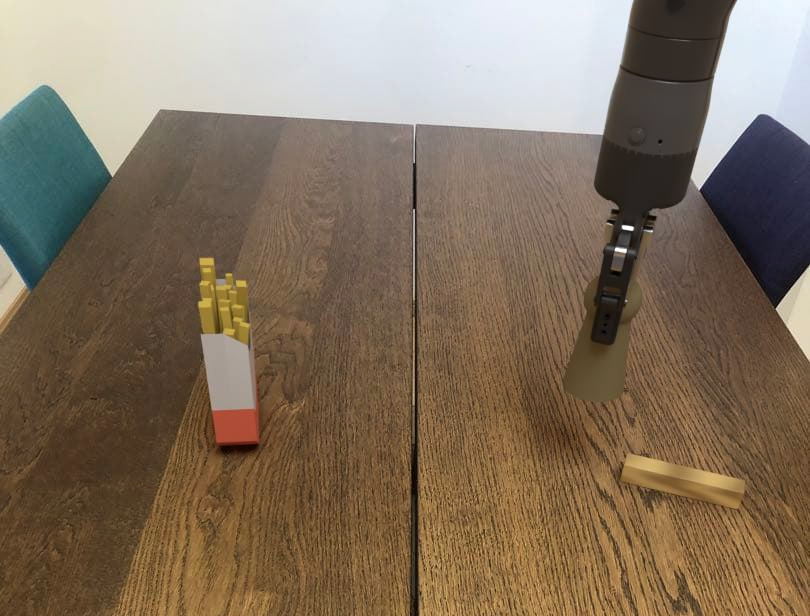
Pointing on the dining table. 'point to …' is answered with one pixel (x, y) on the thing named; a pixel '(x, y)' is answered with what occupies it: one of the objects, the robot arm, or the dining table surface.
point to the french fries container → (229, 357)
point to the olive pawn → (601, 351)
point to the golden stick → (683, 481)
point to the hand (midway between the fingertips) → (607, 326)
